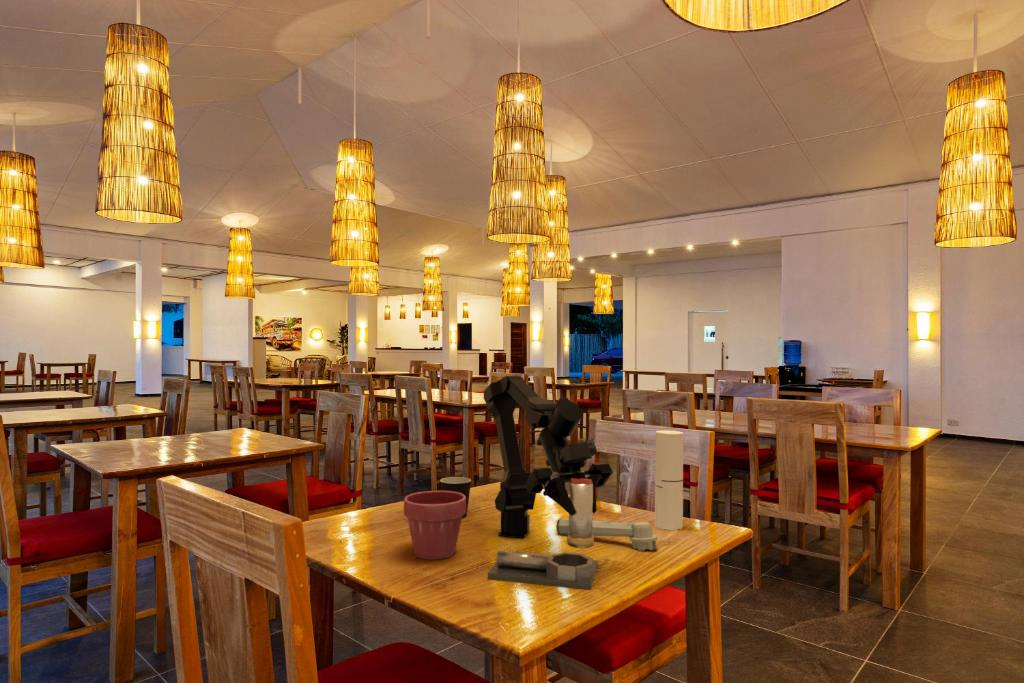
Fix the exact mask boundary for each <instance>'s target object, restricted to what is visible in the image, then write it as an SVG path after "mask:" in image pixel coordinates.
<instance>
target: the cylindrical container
mask: <svg viewBox="0 0 1024 683" xmlns="http://www.w3.org/2000/svg"><path fill="white" fill-rule="evenodd" d="M654 454H655V460H654V461H655V466H654V467H655V470H654V471H655V472H654V474H655V476H654V480H655V481H654V486H655V487H654V488H655V489H654V491H655V492H654V497H655V498H654V527H656V528H657V527H658V528H657V529H660V528H661V529H660V530H664V529H666V531H677V530H676V529H680V530H682V529H683V528H684V527H683V526H684V525H683V524H684V522H683V521H684V519H683V516H684V514H683V512H684V511H683V510H684V484H683V483H684V432H683V431H678V430H669V429H668V430H666V429H665V430H663V429H662V430H656V431H655V453H654ZM682 527H683V528H682ZM681 528H682V529H681Z"/></svg>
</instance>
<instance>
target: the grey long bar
mask: <svg viewBox="0 0 1024 683" xmlns="http://www.w3.org/2000/svg"><path fill="white" fill-rule="evenodd" d="M555 527H556V532H557V534H558V535H564V536H567V534H568V533H569V518H559V519H558V520H557V522H556V525H555ZM592 534H593V535H594V537H620V538H621V537H623V538H624V537H628V538H629V540H630V541H631V544H632V546H631V547H632V548H633V549H636V550H638V551H640V552H641V551H643V552H644V551H645V552H646V550H649V551H653V550H656V549H657V540H658V535H656V534H654V532H653V529H652V524H650V522H648V521H646V522H645V521H643V522H642V521H639V522H638V521H637V522H634V523H629V522H616V521H603V520H593V527H592Z"/></svg>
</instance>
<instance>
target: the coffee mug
mask: <svg viewBox="0 0 1024 683" xmlns="http://www.w3.org/2000/svg"><path fill="white" fill-rule="evenodd" d="M439 482H440V483H439V485H440V491H453V492H458V493H462V494H464V495H465V497H466V513H465V515H463V516H462V518H463V517H466V516H467V515H468V509H469V508H468V507H469V501H470V492H471V486H472V485H471V484H472V479H471V478H468V477H463V476H449V477H444V478H441V479H440V480H439ZM467 517H468V516H467ZM467 517H466V518H467ZM463 519H464V518H463Z"/></svg>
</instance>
